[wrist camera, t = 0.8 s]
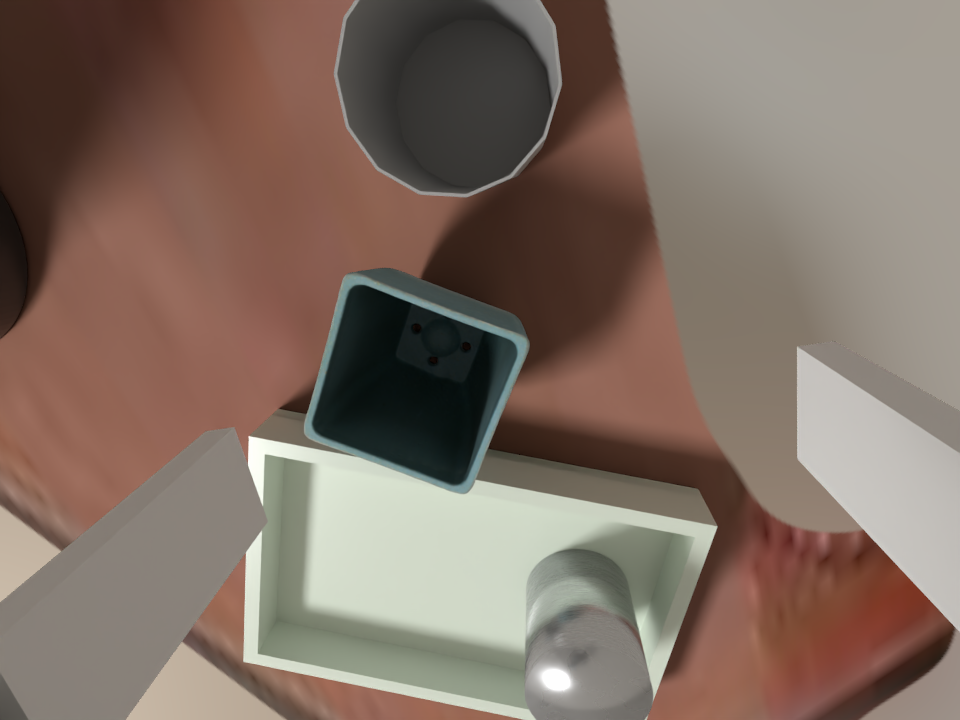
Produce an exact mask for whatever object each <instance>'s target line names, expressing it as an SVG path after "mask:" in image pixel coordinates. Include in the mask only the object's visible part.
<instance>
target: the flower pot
mask: <svg viewBox="0 0 960 720" xmlns="http://www.w3.org/2000/svg"><path fill="white" fill-rule="evenodd" d="M414 324H419V325H420V326H421V330H420V331H418V332H416V331H414V329H413V326H414ZM465 342H467V343H469V344H470V345H471V348H470V349H469V350H467V351H466V350H464V349H463V348H462V344H463V343H465ZM529 347H530V342H529V340H528V337H527V335H526V332H525V330H524V327H523V325H522V323H521V321H520V320H519V318H518V317H517V316H515V315H514V314H512V313H510V312H508V311H505V310H502V309H499V308H497V307H494V306H491V305H488V304H486V303H483V302H480V301H478V300H475V299H472V298H470V297H467V296H464V295H461V294H459V293H456V292H453V291H451V290H448V289H446V288H443V287H440V286H438V285H435V284H432V283H430V282H427V281H425V280H422V279H419V278H417V277H414V276H412V275H410V274H407V273H405V272H402V271H399V270H395V269H391V268H379V269H371V270H364V271H358V272H352V273H348V274H347V275H346V276H345V277H344V279H343V281H342V285H341V288H340V291H339V295H338V300H337V304H336V308H335V312H334V316H333V320H332V324H331V328H330V332H329V336H328V340H327V343H326V347H325V351H324V354H323V358H322V362H321V366H320V370H319V374H318V377H317V381H316V385H315V388H314V391H313V395H312V399H311V402H310V405H309V409H308V411H307V415H306V418H305V422H304V434H305V435H306V437H307V438H309V439H311V440H313V441H315V442H318V443H320V444H323V445H326V446H329V447H331V448H334V449H337V450H340V451H342V452H345V453H349V454H351V455H354V456H356V457H359V458H362V459H364V460H367V461H370V462H373V463H376V464H379V465H381V466H384V467H386V468H389V469H392V470H394V471H397V472H400V473H403V474H406V475H408V476H411V477H413V478H415V479H418V480H421V481H424V482H427V483H429V484H432V485H435V486H437V487H440V488H442V489H445V490H448V491H451V492H454V493H458V494H467V493H468V492H469V491H470V490H471V489H472V487H473V485H474V483H475V480H476V478H477V475H478V473H479V470H480V467H481V464H482V462H483V460H484V457H485V454H486V452H487V450H488V447H489V444H490V442H491V439H492V437H493V434H494V432H495V429H496V427H497V425H498V422H499V419H500V417H501V415H502V412H503V410H504V408H505V406H506V403H507V401H508V399H509V396H510V394H511V391H512V389H513V386H514V384H515V382H516V380H517V377H518V375H519V372H520V370H521V368H522V366H523V363H524V361H525V359H526V356H527V354H528V351H529ZM431 357H437V359H438V362H437V363H435V364H433V363H431V362H430V358H431Z"/></svg>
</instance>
